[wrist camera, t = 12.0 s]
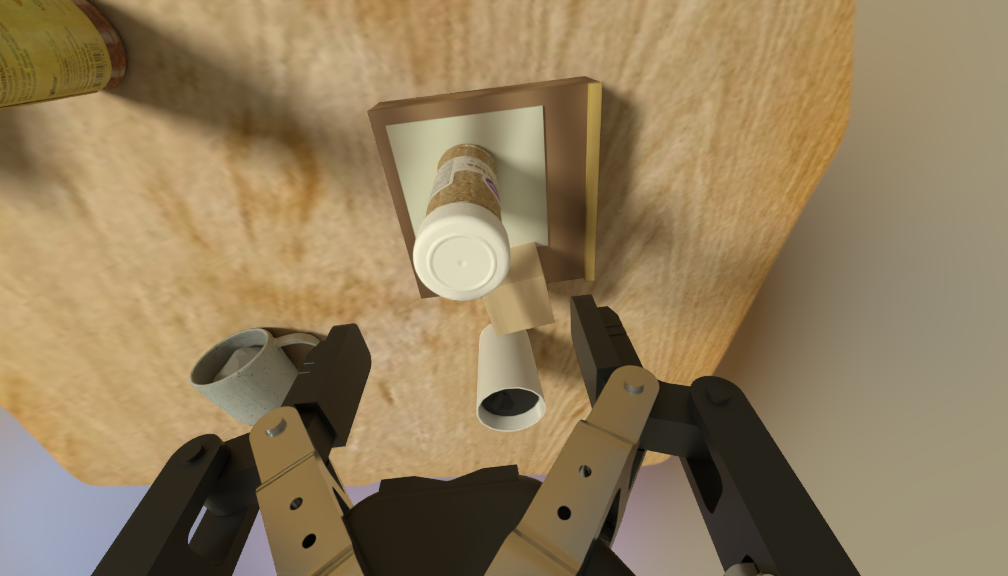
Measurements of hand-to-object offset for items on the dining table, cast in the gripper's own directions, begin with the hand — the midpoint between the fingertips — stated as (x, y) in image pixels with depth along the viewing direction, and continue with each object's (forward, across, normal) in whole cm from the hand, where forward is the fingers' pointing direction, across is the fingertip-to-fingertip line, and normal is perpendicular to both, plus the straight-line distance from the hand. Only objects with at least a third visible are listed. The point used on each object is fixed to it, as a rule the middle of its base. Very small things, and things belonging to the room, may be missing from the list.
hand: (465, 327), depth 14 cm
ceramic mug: (+22, +25, +18) cm, 38 cm away
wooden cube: (+15, -5, +9) cm, 18 cm away
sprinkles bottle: (+18, 0, 0) cm, 18 cm away
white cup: (+22, 0, +21) cm, 30 cm away
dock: (+22, -1, +3) cm, 22 cm away
